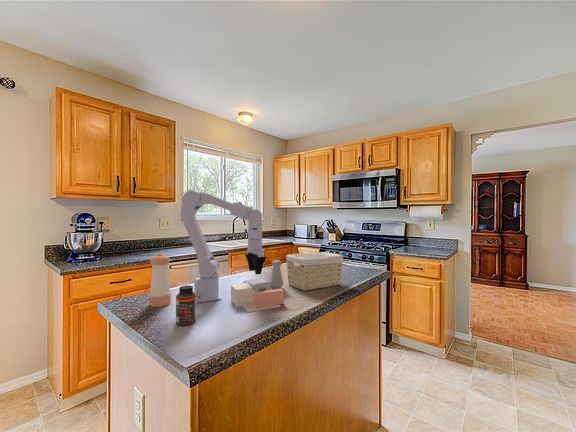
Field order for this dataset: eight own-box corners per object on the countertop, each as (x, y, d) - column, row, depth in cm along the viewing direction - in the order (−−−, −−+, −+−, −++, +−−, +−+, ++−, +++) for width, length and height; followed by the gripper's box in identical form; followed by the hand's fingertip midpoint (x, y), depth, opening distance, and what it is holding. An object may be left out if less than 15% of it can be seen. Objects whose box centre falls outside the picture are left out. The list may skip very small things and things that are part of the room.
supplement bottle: (176, 327, 82) (175, 290, 82) (175, 320, 88) (175, 285, 88) (197, 324, 85) (196, 288, 85) (195, 317, 90) (195, 283, 90)
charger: (253, 285, 133) (271, 291, 121) (236, 288, 127) (253, 295, 115) (253, 275, 133) (271, 281, 121) (236, 278, 127) (253, 284, 115)
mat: (247, 312, 95) (247, 311, 95) (242, 307, 100) (242, 306, 100) (281, 306, 101) (281, 305, 101) (275, 302, 106) (275, 301, 106)
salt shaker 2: (273, 291, 121) (273, 261, 121) (268, 288, 126) (268, 259, 126) (285, 289, 124) (285, 260, 124) (279, 286, 129) (279, 258, 129)
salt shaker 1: (164, 299, 110) (163, 251, 110) (174, 302, 106) (174, 253, 106) (145, 304, 104) (145, 254, 104) (156, 308, 100) (155, 255, 100)
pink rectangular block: (256, 308, 98) (256, 294, 98) (253, 305, 101) (253, 292, 100) (284, 303, 103) (283, 290, 103) (281, 301, 105) (281, 288, 105)
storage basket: (323, 278, 145) (323, 250, 144) (345, 285, 131) (345, 254, 131) (284, 285, 132) (284, 254, 132) (303, 293, 118) (303, 259, 118)
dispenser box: (236, 307, 100) (236, 289, 100) (230, 300, 108) (230, 284, 108) (254, 304, 104) (254, 287, 103) (248, 298, 111) (248, 282, 111)
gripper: (270, 240, 107) (270, 274, 107) (258, 237, 120) (258, 268, 120) (253, 240, 104) (253, 276, 104) (242, 237, 117) (242, 269, 117)
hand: (255, 272), depth 112 cm, fingers open, 7 cm apart
